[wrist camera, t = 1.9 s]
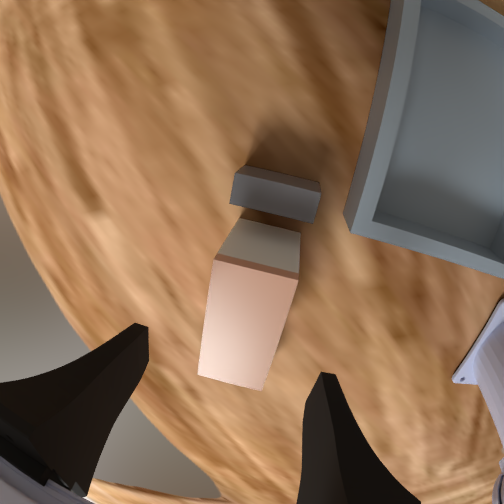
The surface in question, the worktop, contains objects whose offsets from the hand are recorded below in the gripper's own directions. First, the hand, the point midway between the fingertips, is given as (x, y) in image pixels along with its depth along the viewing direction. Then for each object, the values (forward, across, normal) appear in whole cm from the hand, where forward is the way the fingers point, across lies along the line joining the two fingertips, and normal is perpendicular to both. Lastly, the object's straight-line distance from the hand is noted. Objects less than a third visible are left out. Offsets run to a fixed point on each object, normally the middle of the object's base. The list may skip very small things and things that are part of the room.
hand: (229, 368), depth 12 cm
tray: (+8, -9, -12) cm, 17 cm away
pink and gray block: (+8, 0, 0) cm, 8 cm away
